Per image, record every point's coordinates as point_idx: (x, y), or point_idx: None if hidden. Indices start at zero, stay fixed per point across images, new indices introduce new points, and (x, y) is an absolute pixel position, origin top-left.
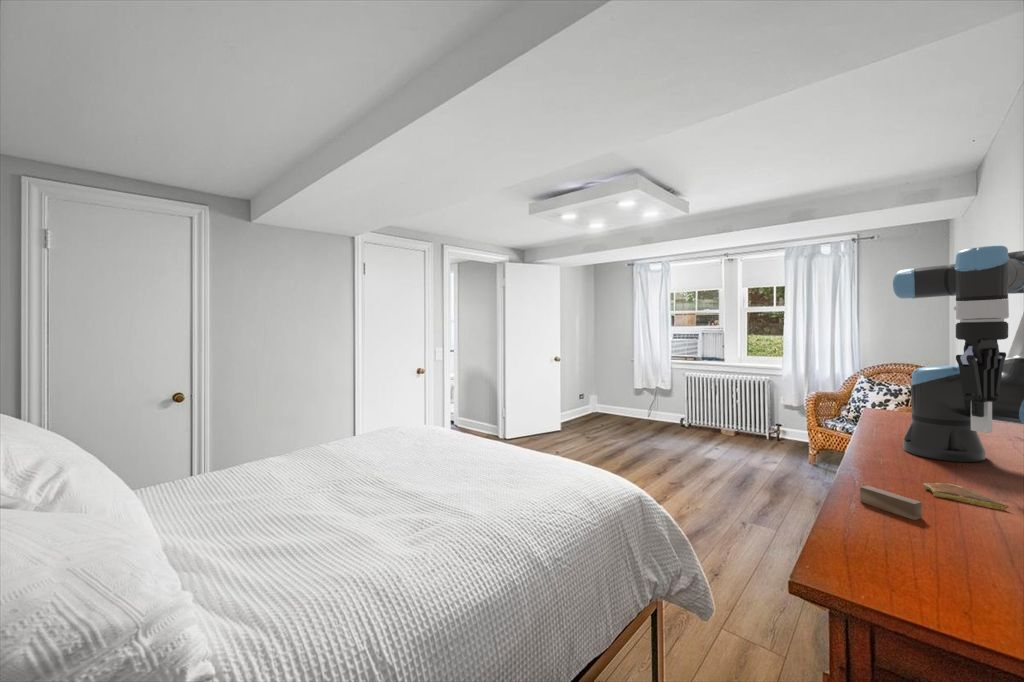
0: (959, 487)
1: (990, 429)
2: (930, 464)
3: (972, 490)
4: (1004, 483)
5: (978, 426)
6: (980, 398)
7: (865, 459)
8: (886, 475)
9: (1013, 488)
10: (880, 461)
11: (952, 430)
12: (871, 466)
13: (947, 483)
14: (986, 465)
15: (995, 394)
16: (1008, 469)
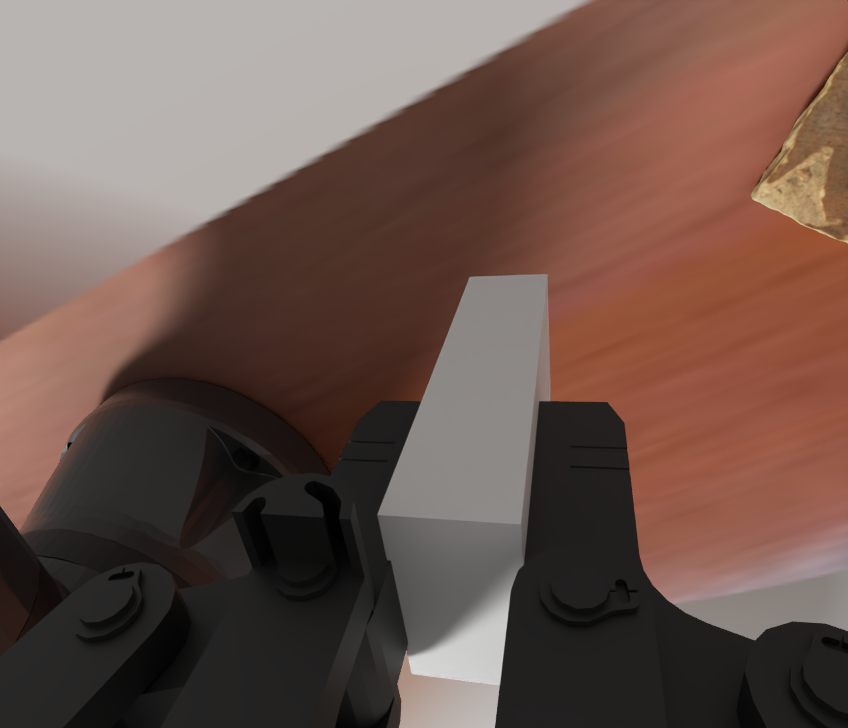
0: (838, 156)
1: (496, 289)
2: None
3: (824, 97)
4: (400, 160)
5: (546, 370)
6: (839, 652)
7: None
8: (807, 449)
9: (447, 91)
10: None
11: (186, 545)
12: (702, 536)
13: (807, 225)
14: (199, 343)
15: (167, 622)
16: (163, 275)
